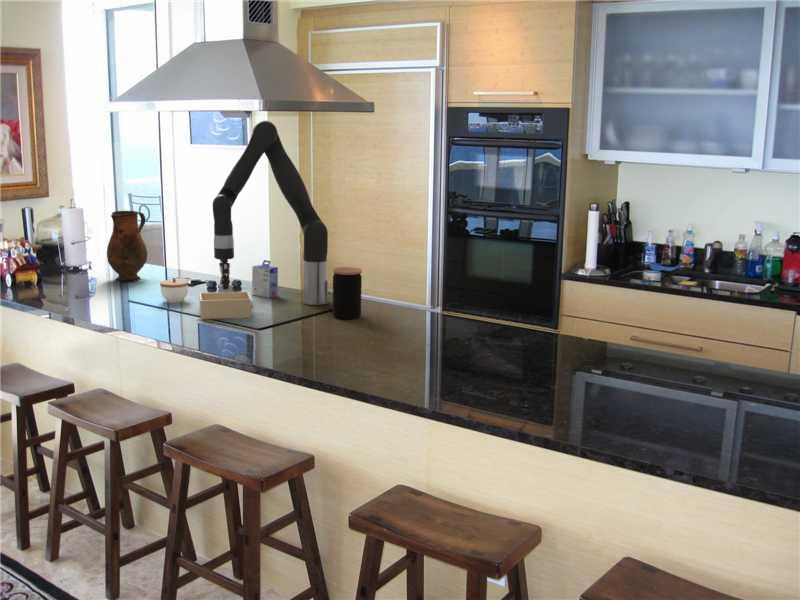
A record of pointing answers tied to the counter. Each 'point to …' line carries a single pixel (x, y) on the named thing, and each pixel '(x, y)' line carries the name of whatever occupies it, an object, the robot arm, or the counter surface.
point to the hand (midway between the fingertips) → (225, 287)
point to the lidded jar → (174, 290)
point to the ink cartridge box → (265, 280)
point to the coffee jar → (347, 293)
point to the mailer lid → (228, 290)
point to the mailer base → (225, 305)
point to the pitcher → (127, 246)
